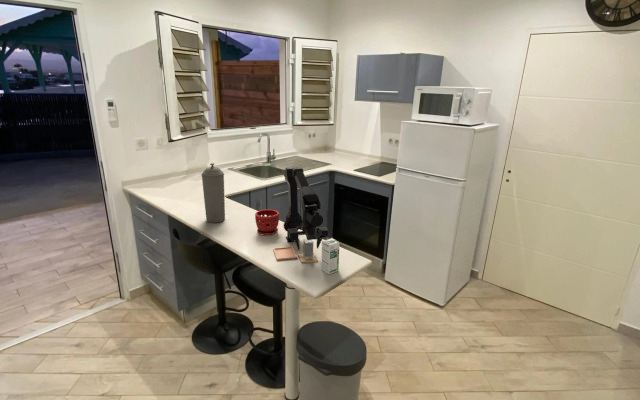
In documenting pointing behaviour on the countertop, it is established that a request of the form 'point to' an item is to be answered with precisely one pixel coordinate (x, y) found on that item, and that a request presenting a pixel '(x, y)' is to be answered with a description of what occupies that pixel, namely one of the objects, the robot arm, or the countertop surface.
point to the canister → (214, 194)
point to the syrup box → (330, 256)
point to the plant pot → (267, 222)
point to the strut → (307, 247)
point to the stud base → (307, 258)
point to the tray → (284, 253)
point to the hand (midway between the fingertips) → (308, 249)
